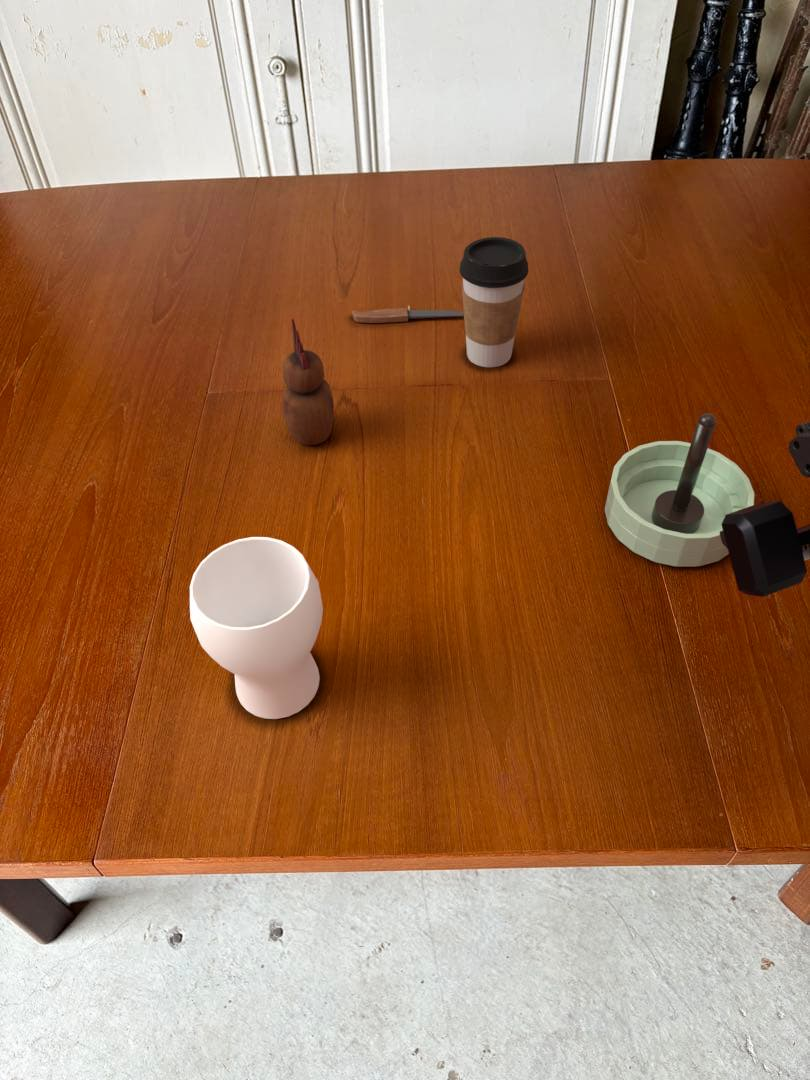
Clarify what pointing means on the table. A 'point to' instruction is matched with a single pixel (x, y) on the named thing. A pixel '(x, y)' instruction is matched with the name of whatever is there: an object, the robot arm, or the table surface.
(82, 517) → the table surface
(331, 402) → the wooden figurine
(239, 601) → the cup
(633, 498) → the mixing bowl
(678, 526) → the joystick
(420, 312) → the knife
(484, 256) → the coffee cup
